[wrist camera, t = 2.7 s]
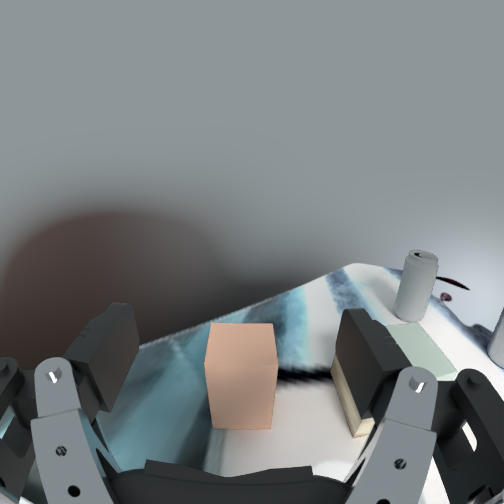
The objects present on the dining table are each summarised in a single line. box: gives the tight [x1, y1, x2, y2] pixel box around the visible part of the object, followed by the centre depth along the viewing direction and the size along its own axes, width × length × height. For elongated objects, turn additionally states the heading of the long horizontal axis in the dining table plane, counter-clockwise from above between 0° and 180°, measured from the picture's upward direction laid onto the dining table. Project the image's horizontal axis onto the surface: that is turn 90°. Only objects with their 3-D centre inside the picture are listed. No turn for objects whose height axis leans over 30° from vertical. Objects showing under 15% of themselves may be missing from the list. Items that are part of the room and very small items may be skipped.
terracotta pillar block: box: [204, 323, 278, 429], centre depth 26 cm, size 6×6×10 cm
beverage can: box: [394, 250, 439, 322], centre depth 42 cm, size 6×6×12 cm
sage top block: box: [385, 322, 457, 381], centre depth 26 cm, size 10×10×4 cm
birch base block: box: [330, 352, 375, 438], centre depth 27 cm, size 11×11×4 cm
